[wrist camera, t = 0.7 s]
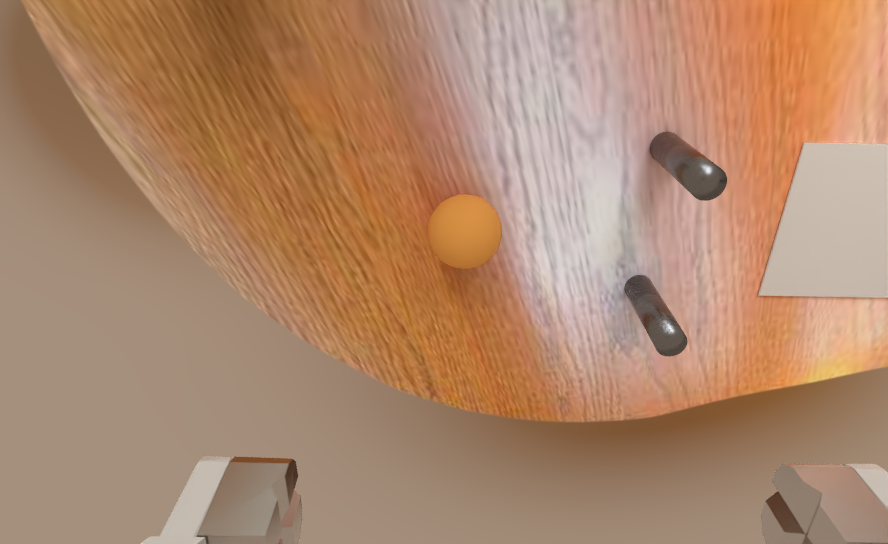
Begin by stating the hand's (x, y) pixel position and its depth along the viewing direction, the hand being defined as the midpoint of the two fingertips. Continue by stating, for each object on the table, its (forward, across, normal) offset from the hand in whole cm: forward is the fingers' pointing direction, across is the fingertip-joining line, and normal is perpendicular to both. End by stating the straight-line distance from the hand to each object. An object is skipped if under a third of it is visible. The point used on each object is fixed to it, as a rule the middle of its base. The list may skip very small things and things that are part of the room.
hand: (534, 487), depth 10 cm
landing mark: (+40, -34, +11) cm, 54 cm away
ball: (+37, 0, +11) cm, 39 cm away
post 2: (+40, -16, +4) cm, 43 cm away
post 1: (+40, -16, +17) cm, 47 cm away
